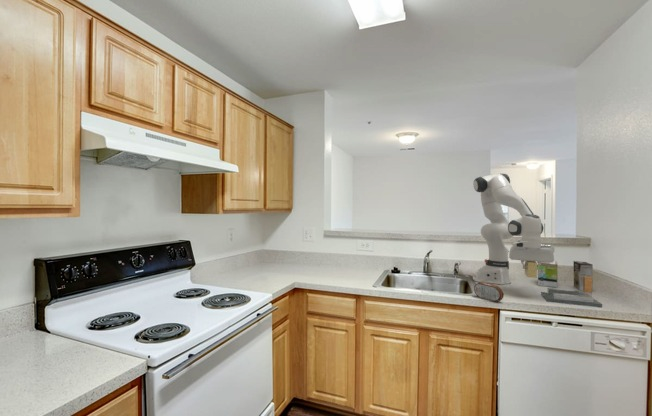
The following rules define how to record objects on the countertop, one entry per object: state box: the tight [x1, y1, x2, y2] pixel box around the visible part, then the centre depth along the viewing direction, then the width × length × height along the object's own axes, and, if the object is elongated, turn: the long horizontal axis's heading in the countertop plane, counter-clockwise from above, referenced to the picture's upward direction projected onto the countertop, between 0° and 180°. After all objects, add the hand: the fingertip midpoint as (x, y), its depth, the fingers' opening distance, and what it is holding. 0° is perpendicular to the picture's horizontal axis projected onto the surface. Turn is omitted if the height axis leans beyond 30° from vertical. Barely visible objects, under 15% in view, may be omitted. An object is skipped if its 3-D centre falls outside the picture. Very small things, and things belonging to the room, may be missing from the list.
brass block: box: [524, 261, 538, 279], centre depth 163 cm, size 4×8×8 cm, turn 156°
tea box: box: [537, 260, 559, 289], centre depth 190 cm, size 15×10×15 cm, turn 143°
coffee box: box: [573, 260, 594, 293], centre depth 178 cm, size 9×6×16 cm
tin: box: [473, 282, 504, 303], centre depth 158 cm, size 15×3×8 cm, turn 30°
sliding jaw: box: [546, 276, 593, 297], centre depth 161 cm, size 19×2×10 cm, turn 66°
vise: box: [540, 291, 603, 308], centre depth 156 cm, size 22×14×4 cm, turn 66°
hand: (530, 269), depth 163 cm, fingers closed on brass block, 4 cm apart
